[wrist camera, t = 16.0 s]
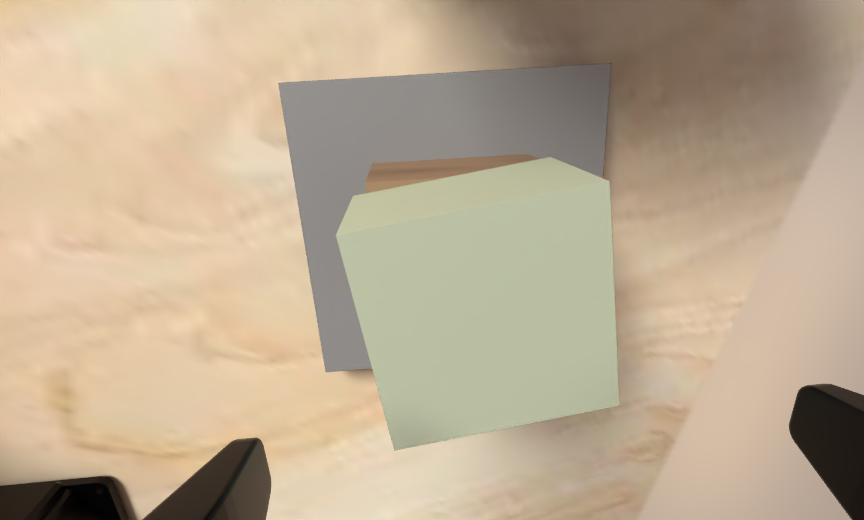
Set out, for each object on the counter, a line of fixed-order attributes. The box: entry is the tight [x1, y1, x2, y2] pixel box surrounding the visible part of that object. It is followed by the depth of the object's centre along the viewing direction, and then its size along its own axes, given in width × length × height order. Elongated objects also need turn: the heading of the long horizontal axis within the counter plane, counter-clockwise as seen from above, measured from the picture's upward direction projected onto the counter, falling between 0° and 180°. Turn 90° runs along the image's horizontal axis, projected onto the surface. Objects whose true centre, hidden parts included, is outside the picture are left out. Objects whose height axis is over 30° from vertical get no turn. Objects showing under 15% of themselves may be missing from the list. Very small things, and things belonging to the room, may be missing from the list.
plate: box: [278, 63, 611, 372], centre depth 19 cm, size 12×12×2 cm
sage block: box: [336, 157, 619, 451], centre depth 13 cm, size 6×6×4 cm
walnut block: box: [365, 154, 538, 193], centre depth 16 cm, size 6×6×4 cm
